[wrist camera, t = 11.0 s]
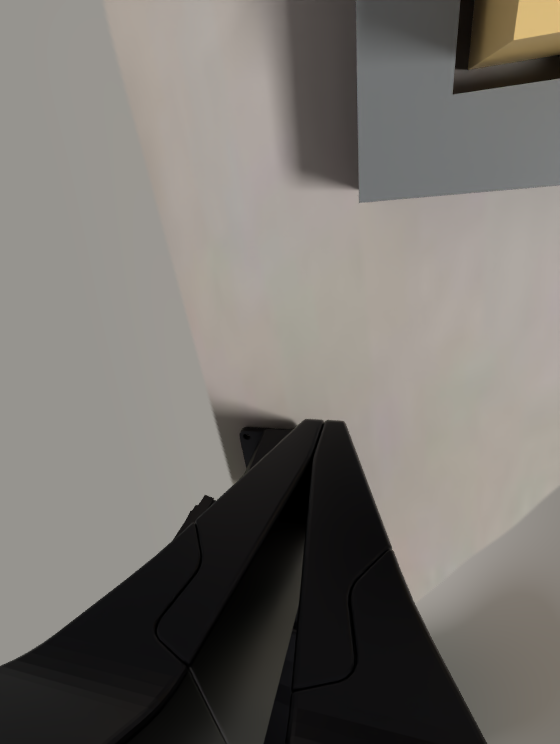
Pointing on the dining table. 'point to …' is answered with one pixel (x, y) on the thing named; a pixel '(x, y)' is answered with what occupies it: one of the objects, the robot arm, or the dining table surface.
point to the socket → (442, 112)
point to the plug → (513, 31)
